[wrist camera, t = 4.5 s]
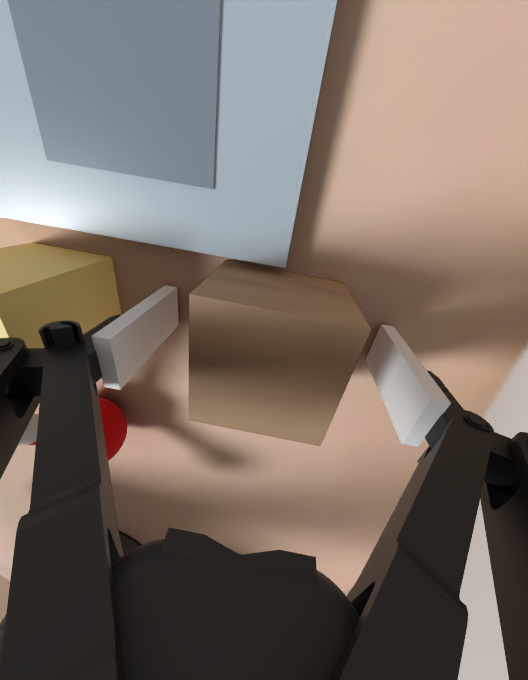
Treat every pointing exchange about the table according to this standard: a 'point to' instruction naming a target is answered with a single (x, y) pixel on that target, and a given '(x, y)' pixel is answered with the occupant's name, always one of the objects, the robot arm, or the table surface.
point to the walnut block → (271, 351)
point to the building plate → (161, 118)
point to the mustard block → (53, 290)
